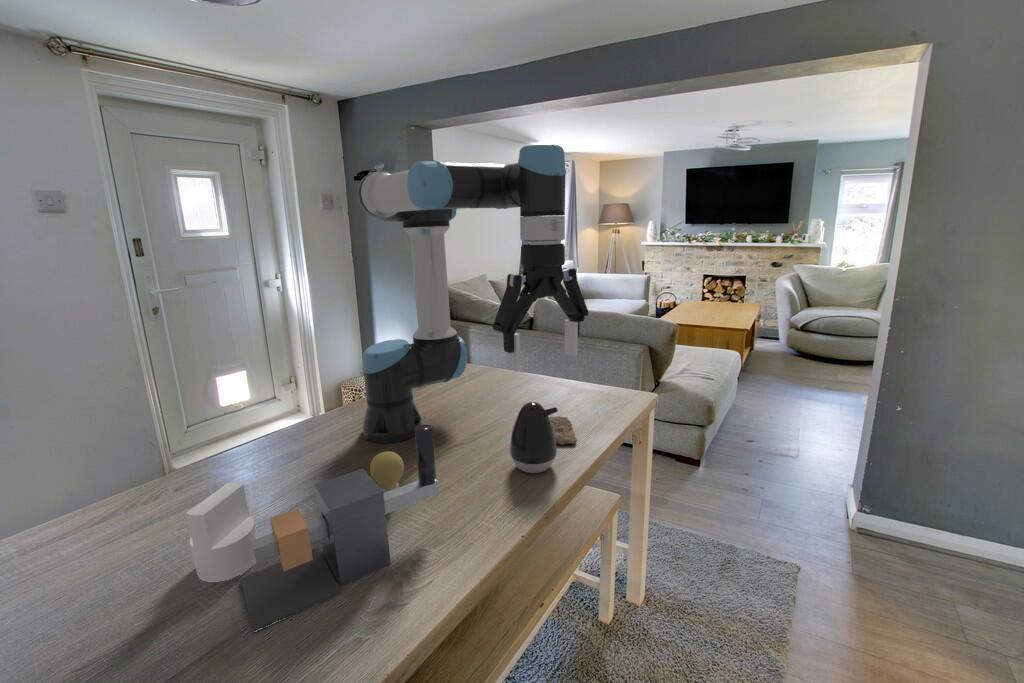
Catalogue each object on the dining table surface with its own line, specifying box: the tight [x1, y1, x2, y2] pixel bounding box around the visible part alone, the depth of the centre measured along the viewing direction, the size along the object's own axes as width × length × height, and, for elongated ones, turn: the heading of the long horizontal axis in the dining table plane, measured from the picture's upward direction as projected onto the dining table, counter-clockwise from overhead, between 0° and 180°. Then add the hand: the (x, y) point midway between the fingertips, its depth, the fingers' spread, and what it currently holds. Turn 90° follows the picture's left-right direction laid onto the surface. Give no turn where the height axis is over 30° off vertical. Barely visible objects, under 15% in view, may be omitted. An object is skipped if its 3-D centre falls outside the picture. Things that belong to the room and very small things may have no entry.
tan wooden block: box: [269, 508, 313, 571], centre depth 71 cm, size 6×4×6 cm, turn 36°
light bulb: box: [369, 450, 405, 493], centre depth 94 cm, size 6×6×10 cm
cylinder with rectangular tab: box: [185, 482, 259, 581], centre depth 77 cm, size 9×9×12 cm
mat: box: [240, 547, 341, 633], centre depth 73 cm, size 12×12×1 cm
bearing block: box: [313, 468, 392, 587], centre depth 77 cm, size 9×8×13 cm
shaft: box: [251, 424, 441, 565], centre depth 75 cm, size 3×29×12 cm, turn 126°
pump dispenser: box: [509, 401, 558, 474], centre depth 103 cm, size 10×10×15 cm
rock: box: [549, 415, 578, 445], centre depth 119 cm, size 9×6×10 cm
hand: (543, 361), depth 87 cm, fingers open, 13 cm apart
